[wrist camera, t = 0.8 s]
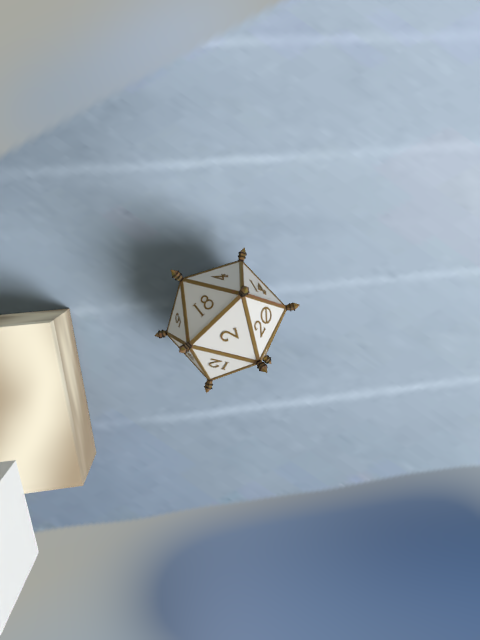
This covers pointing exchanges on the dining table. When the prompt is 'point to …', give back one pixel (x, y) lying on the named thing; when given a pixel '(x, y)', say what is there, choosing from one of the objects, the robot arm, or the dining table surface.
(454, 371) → the dining table surface
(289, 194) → the dining table surface
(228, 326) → the game die
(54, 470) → the birch base
